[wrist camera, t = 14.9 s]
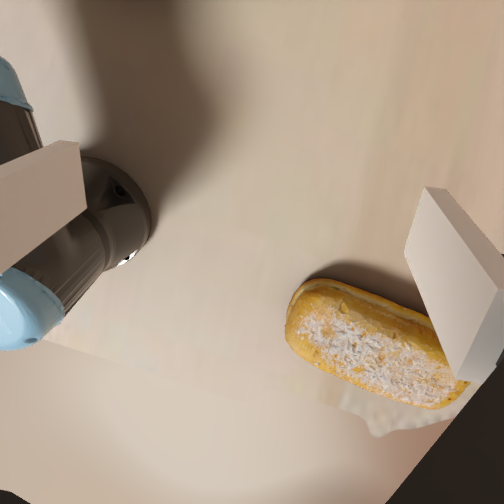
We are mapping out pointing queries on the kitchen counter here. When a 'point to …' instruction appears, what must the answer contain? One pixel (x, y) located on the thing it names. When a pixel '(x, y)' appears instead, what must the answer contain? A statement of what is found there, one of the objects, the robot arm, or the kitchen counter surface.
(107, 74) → the kitchen counter surface
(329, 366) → the bread
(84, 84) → the kitchen counter surface
